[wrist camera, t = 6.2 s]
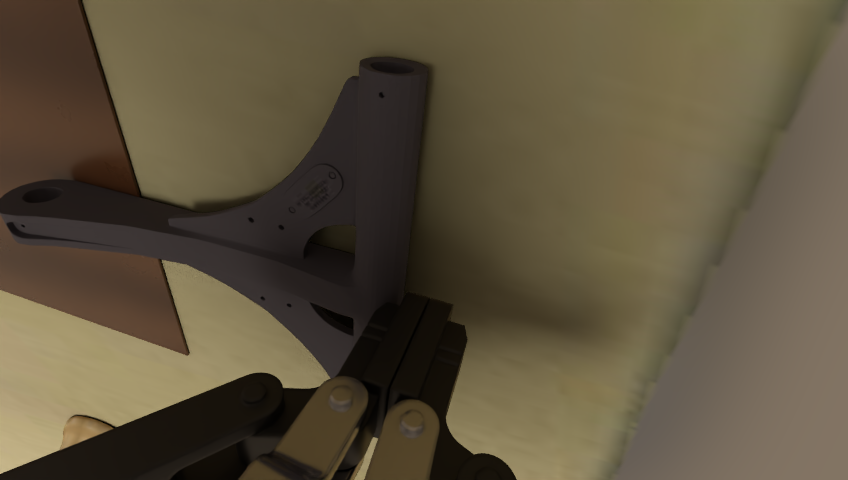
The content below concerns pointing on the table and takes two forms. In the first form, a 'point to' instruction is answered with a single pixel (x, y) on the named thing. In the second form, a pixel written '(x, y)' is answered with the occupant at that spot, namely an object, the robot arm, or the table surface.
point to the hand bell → (81, 430)
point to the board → (70, 172)
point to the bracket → (277, 217)
